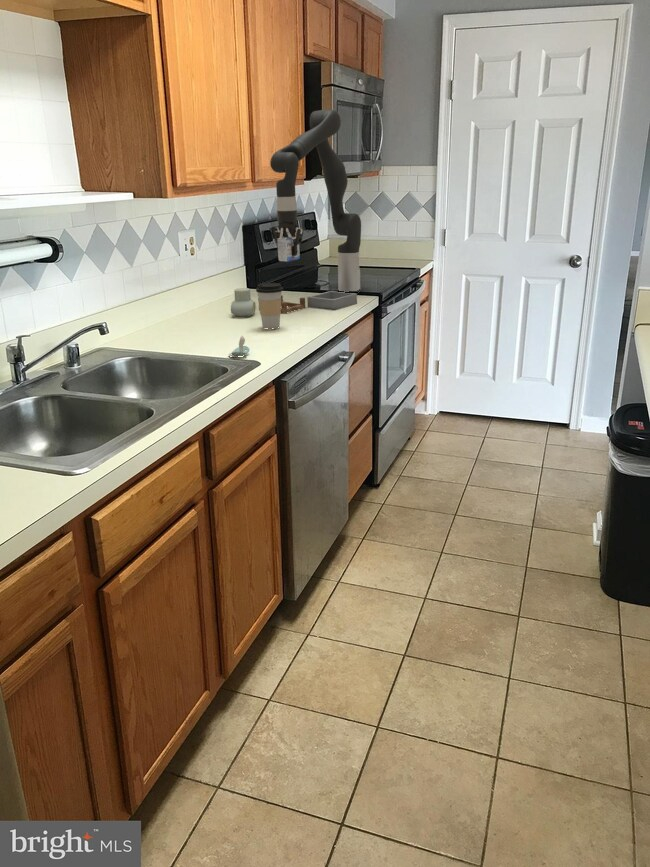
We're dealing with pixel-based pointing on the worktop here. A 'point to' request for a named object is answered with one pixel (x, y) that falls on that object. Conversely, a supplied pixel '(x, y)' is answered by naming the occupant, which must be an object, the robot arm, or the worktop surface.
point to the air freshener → (243, 303)
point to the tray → (332, 300)
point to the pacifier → (240, 348)
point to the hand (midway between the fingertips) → (289, 255)
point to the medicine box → (286, 250)
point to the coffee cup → (270, 304)
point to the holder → (291, 305)
